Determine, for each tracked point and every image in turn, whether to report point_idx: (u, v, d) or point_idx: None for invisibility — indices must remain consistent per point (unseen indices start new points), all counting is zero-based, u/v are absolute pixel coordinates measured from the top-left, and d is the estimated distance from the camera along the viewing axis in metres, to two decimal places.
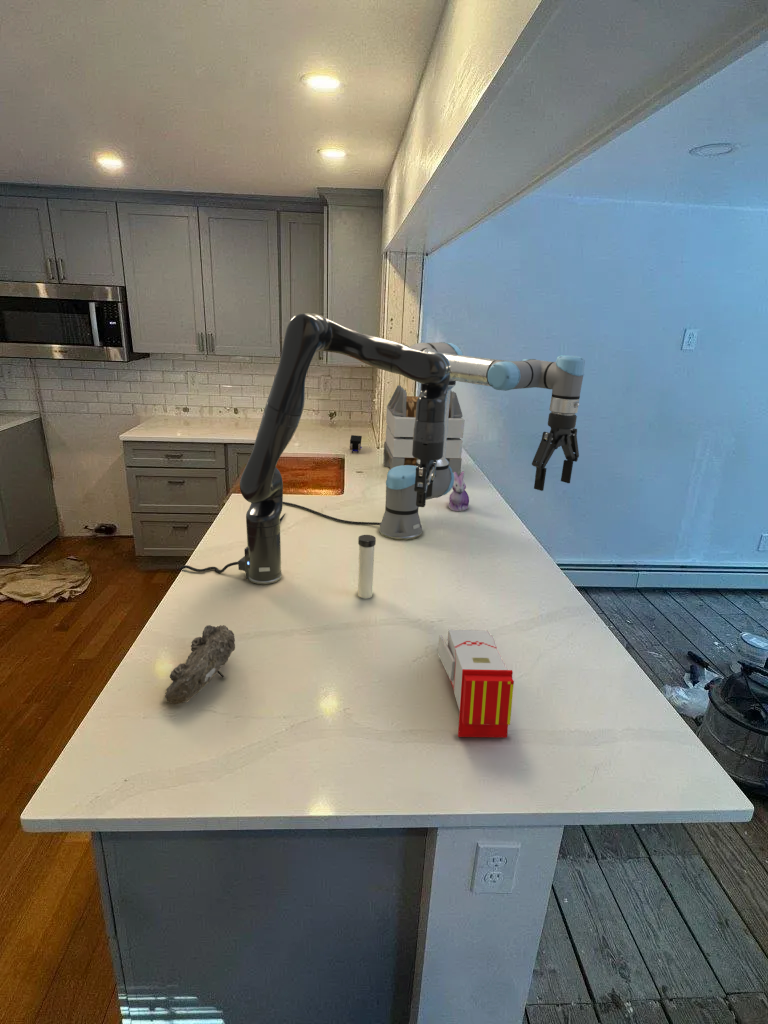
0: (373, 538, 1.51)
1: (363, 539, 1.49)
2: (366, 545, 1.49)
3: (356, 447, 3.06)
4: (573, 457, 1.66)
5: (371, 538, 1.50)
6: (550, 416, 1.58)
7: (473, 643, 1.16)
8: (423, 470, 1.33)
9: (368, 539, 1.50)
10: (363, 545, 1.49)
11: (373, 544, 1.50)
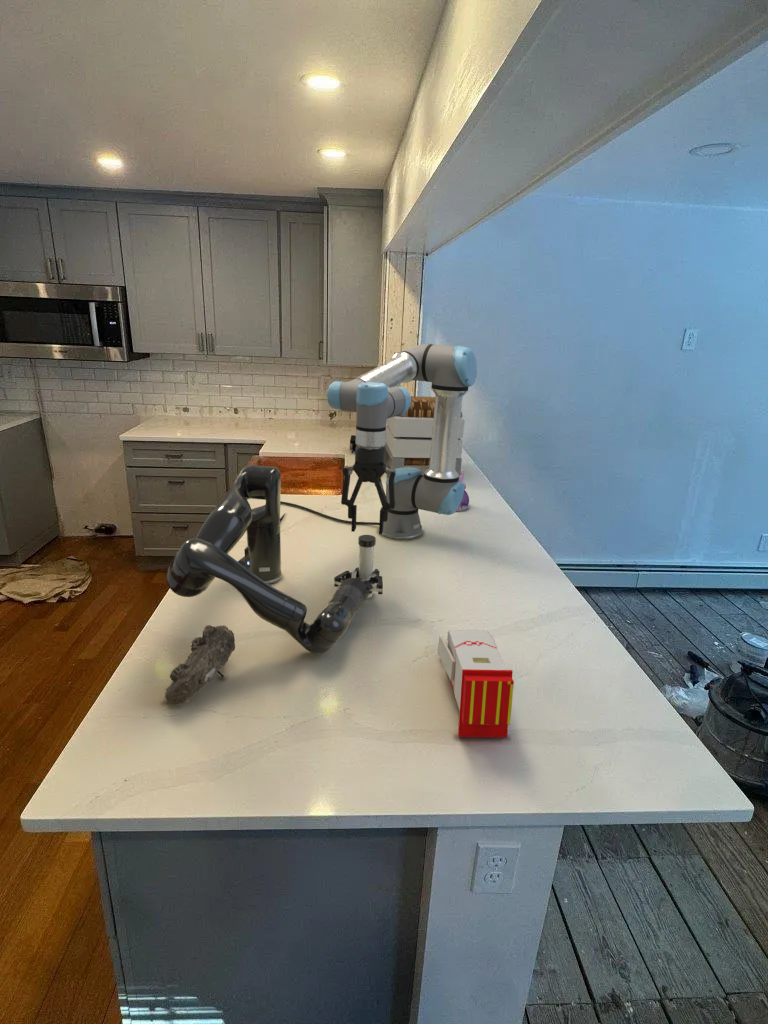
0: (373, 538, 1.51)
1: (363, 539, 1.49)
2: (366, 545, 1.49)
3: None
4: None
5: (371, 538, 1.50)
6: (382, 452, 1.40)
7: (473, 643, 1.16)
8: (382, 587, 1.47)
9: (368, 539, 1.50)
10: (363, 545, 1.49)
11: (373, 544, 1.50)
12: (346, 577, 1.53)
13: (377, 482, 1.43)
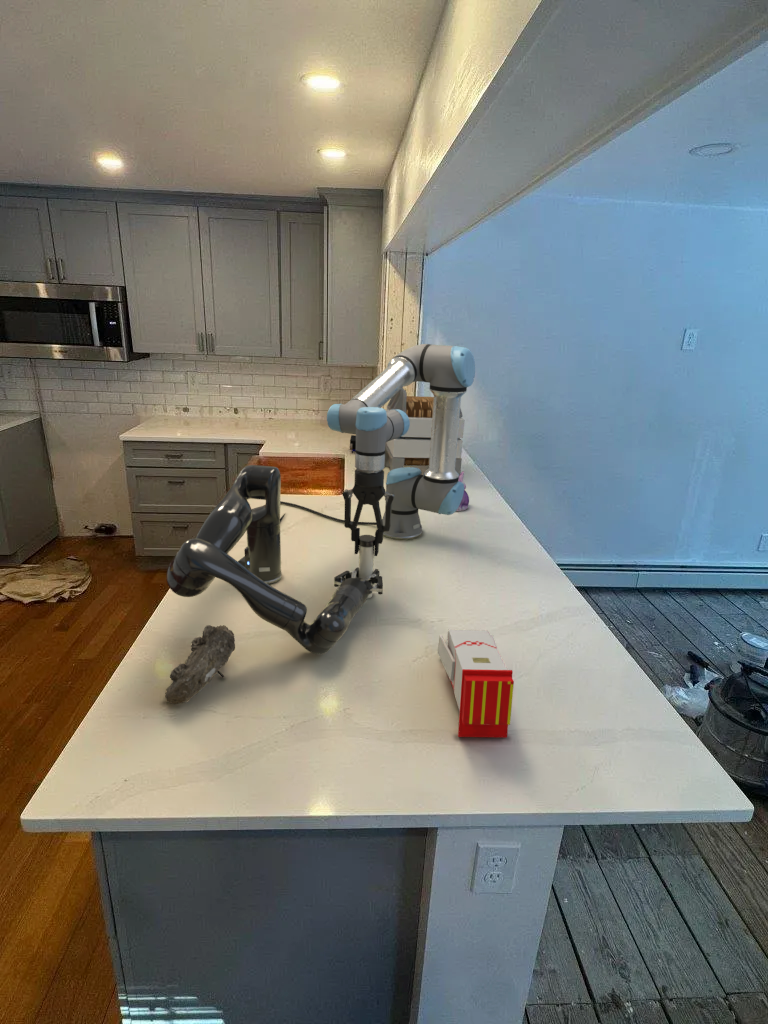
0: (373, 538, 1.50)
1: (363, 539, 1.49)
2: (366, 545, 1.49)
3: None
4: None
5: (371, 538, 1.50)
6: (381, 475, 1.43)
7: (473, 643, 1.16)
8: (382, 587, 1.47)
9: (368, 539, 1.50)
10: (363, 545, 1.49)
11: (373, 544, 1.50)
12: (346, 577, 1.53)
13: (375, 505, 1.45)
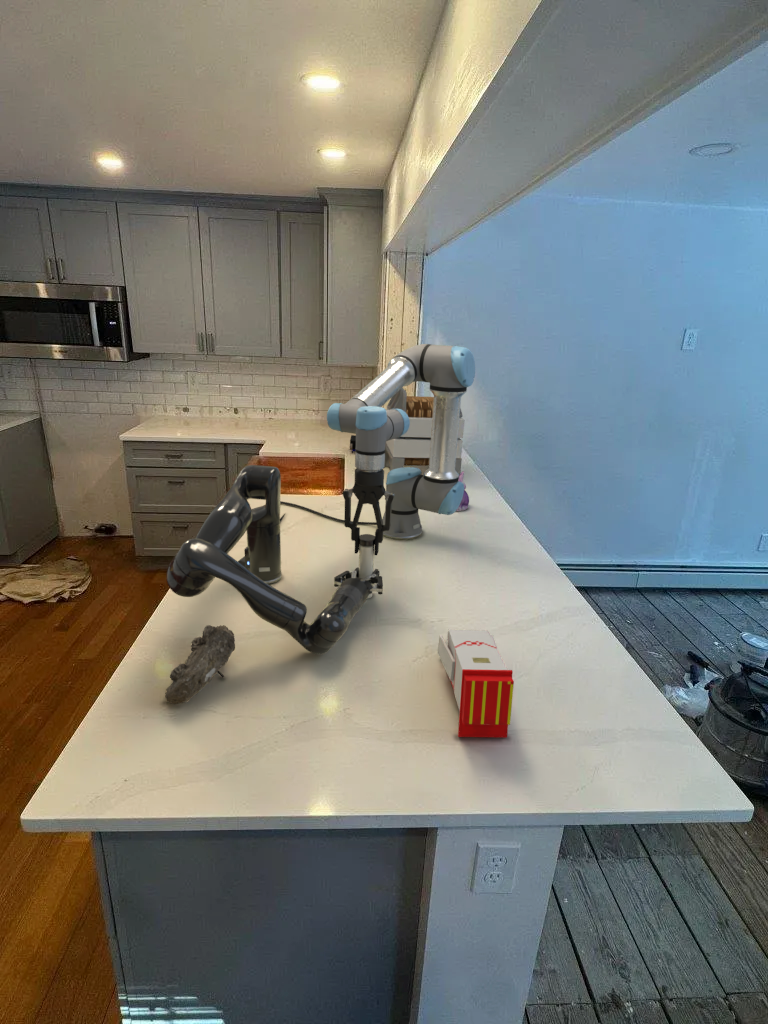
0: (368, 535, 1.52)
1: (371, 539, 1.49)
2: None
3: None
4: None
5: (368, 535, 1.52)
6: (381, 475, 1.42)
7: (473, 643, 1.16)
8: (382, 587, 1.47)
9: (371, 537, 1.51)
10: (374, 543, 1.50)
11: None
12: (346, 577, 1.53)
13: (375, 504, 1.45)
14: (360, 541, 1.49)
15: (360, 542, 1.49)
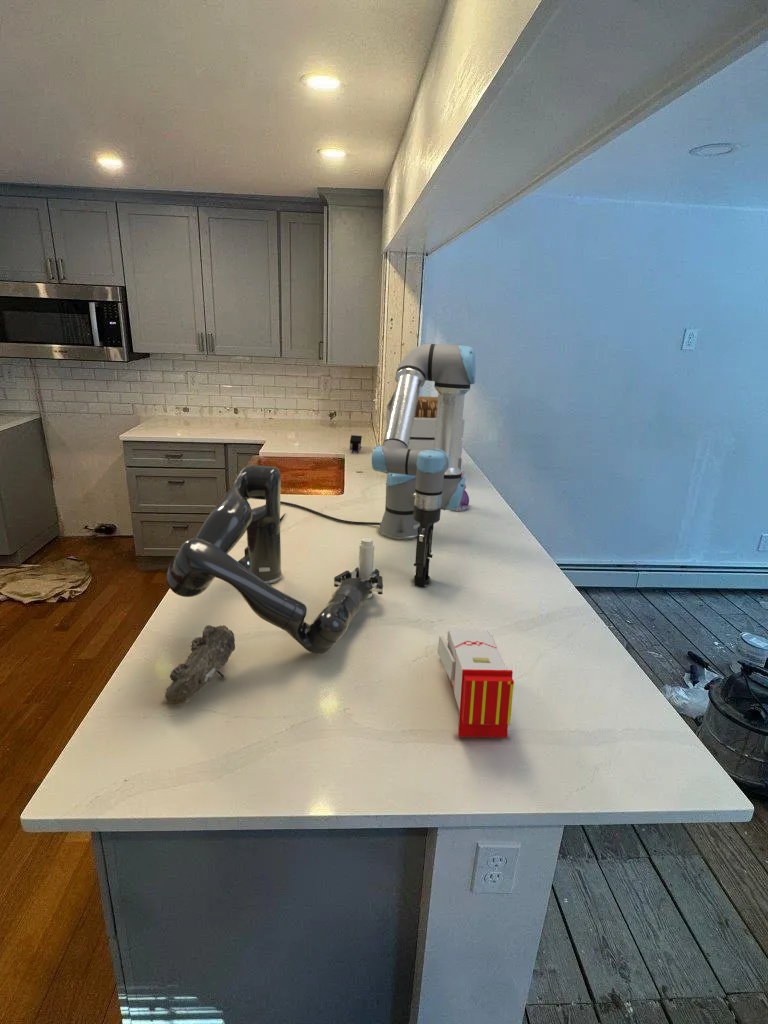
0: None
1: (426, 575, 1.66)
2: None
3: (356, 447, 3.06)
4: None
5: None
6: None
7: (473, 643, 1.16)
8: (382, 587, 1.47)
9: None
10: None
11: None
12: (346, 577, 1.53)
13: (432, 534, 1.62)
14: (426, 581, 1.63)
15: (426, 582, 1.63)
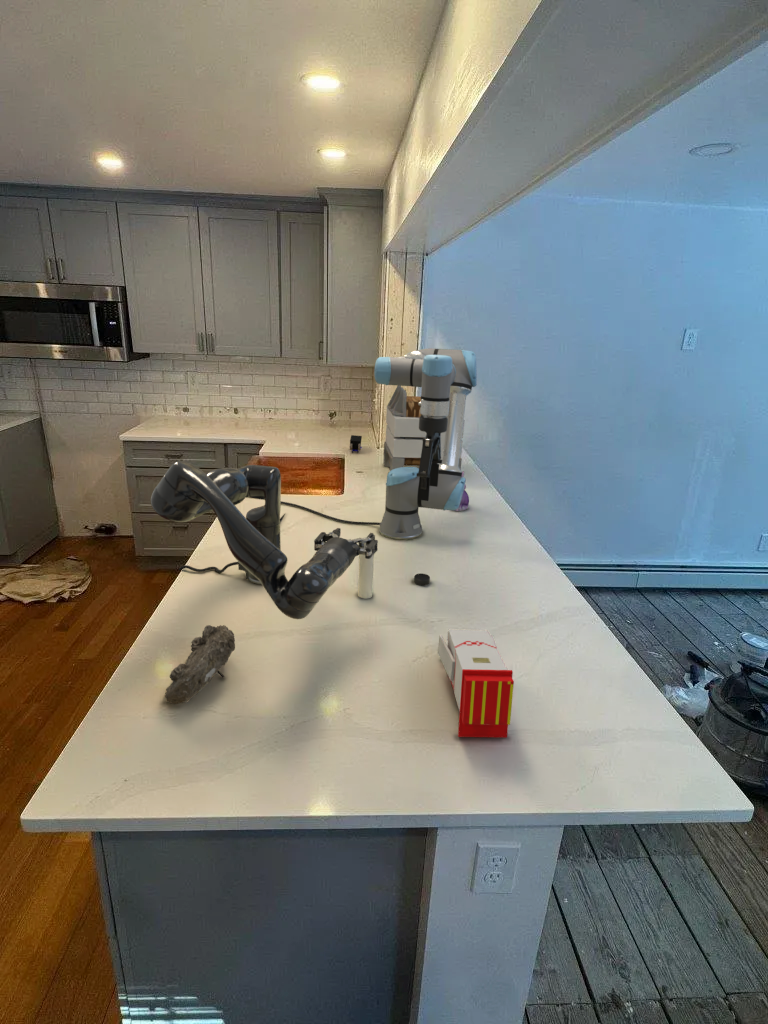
0: (416, 575, 1.65)
1: (426, 575, 1.66)
2: None
3: (356, 447, 3.06)
4: None
5: (418, 575, 1.65)
6: None
7: (473, 643, 1.16)
8: (370, 551, 1.29)
9: (421, 575, 1.66)
10: None
11: None
12: (323, 539, 1.36)
13: (439, 445, 1.55)
14: (426, 581, 1.63)
15: (426, 582, 1.63)
